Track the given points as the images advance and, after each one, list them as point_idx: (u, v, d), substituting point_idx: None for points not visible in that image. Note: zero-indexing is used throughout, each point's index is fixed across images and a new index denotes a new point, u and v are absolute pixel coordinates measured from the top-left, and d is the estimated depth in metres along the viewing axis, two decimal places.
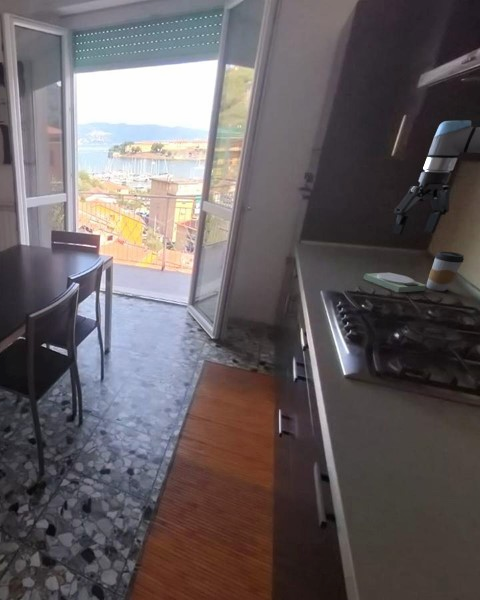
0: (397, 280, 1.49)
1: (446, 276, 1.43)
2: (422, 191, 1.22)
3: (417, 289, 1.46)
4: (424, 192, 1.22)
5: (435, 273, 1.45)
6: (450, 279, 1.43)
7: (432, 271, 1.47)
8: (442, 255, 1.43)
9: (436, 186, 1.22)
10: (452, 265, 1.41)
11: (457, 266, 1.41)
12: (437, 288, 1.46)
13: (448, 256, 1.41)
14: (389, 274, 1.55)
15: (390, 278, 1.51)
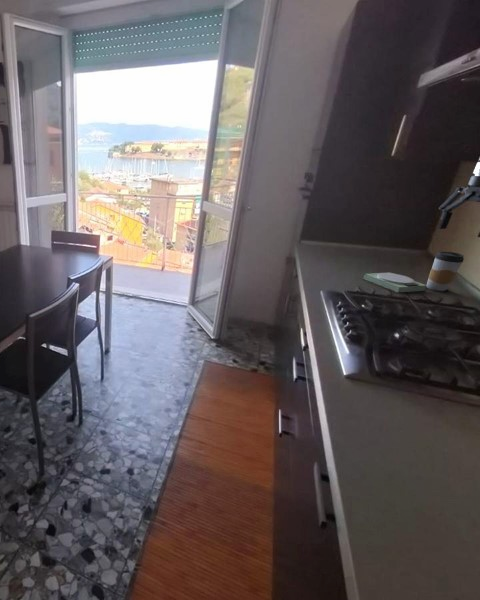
0: (397, 280, 1.49)
1: (446, 276, 1.43)
2: None
3: (417, 289, 1.46)
4: None
5: (435, 273, 1.45)
6: (450, 279, 1.43)
7: (432, 271, 1.47)
8: (442, 255, 1.43)
9: None
10: (452, 265, 1.41)
11: (457, 266, 1.41)
12: (437, 288, 1.46)
13: (448, 256, 1.41)
14: (389, 274, 1.55)
15: (390, 278, 1.51)
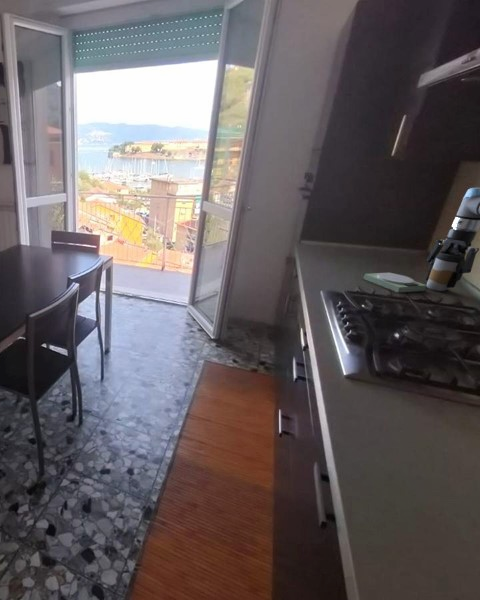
0: (397, 280, 1.49)
1: (446, 277, 1.43)
2: None
3: (417, 289, 1.46)
4: None
5: (436, 273, 1.45)
6: None
7: (433, 271, 1.47)
8: (443, 255, 1.42)
9: None
10: (452, 265, 1.41)
11: None
12: (437, 288, 1.46)
13: (449, 256, 1.41)
14: (389, 274, 1.55)
15: (390, 278, 1.51)
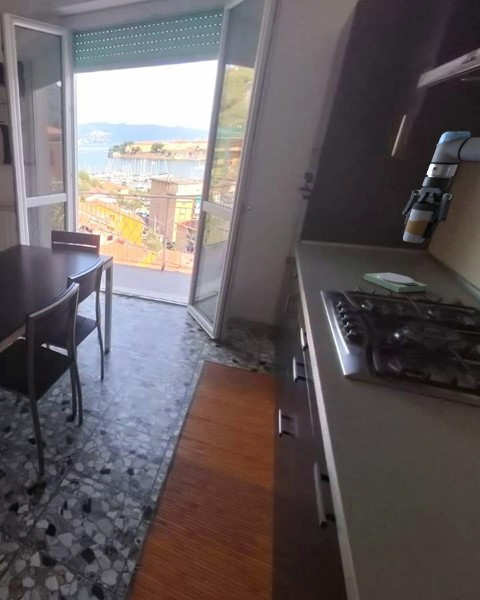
0: (397, 280, 1.49)
1: (422, 227, 1.39)
2: None
3: (417, 289, 1.46)
4: None
5: (412, 224, 1.41)
6: None
7: (408, 222, 1.43)
8: (418, 205, 1.38)
9: None
10: (428, 214, 1.37)
11: None
12: (413, 240, 1.42)
13: (424, 205, 1.37)
14: (389, 274, 1.55)
15: (390, 278, 1.51)
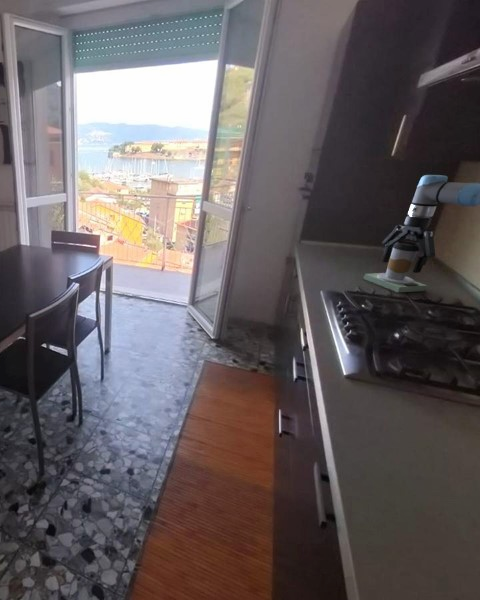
0: (397, 280, 1.49)
1: (403, 265, 1.46)
2: None
3: (417, 289, 1.46)
4: None
5: (393, 262, 1.48)
6: (407, 268, 1.46)
7: (390, 260, 1.50)
8: (399, 244, 1.45)
9: None
10: (408, 254, 1.44)
11: (412, 255, 1.44)
12: (395, 277, 1.49)
13: (404, 245, 1.44)
14: None
15: None
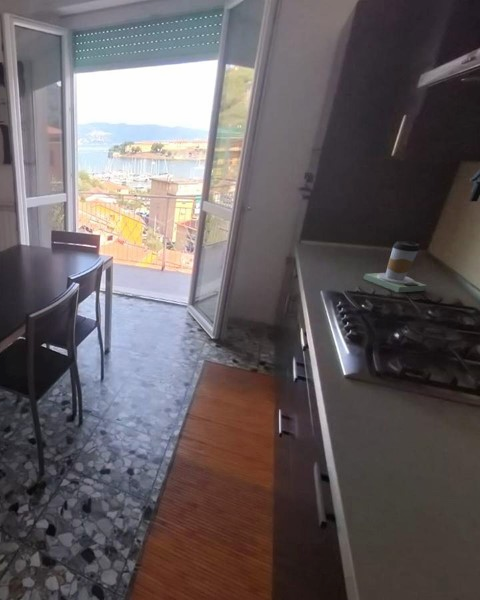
0: (397, 280, 1.49)
1: (403, 265, 1.46)
2: None
3: (417, 289, 1.46)
4: None
5: (393, 262, 1.48)
6: (407, 268, 1.46)
7: (390, 260, 1.50)
8: (399, 244, 1.45)
9: None
10: (408, 254, 1.44)
11: (412, 255, 1.44)
12: (395, 277, 1.49)
13: (404, 245, 1.44)
14: None
15: None
